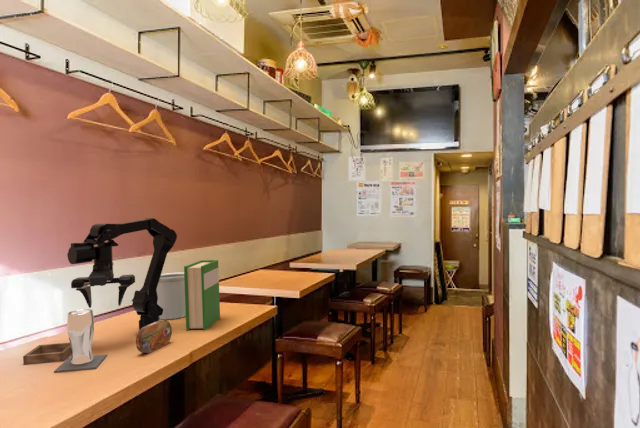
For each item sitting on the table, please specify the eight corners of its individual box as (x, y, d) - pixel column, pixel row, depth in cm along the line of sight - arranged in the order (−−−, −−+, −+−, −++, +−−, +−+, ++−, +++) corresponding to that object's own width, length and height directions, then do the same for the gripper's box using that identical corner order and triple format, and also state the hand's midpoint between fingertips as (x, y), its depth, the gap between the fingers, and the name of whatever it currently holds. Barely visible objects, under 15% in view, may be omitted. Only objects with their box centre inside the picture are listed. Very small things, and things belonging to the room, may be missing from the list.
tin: (142, 357, 133) (141, 329, 133) (134, 356, 134) (133, 329, 134) (173, 341, 147) (172, 317, 147) (165, 341, 148) (164, 316, 148)
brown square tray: (76, 349, 142) (76, 341, 142) (63, 360, 131) (63, 352, 131) (39, 352, 140) (39, 344, 140) (23, 364, 129) (23, 356, 129)
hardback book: (205, 330, 160) (203, 266, 159) (186, 330, 160) (184, 266, 160) (220, 318, 177) (218, 260, 177) (202, 318, 178) (200, 260, 178)
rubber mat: (107, 356, 135) (107, 354, 135) (96, 368, 124) (96, 367, 124) (68, 359, 132) (68, 357, 132) (54, 372, 122) (53, 371, 122)
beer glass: (92, 364, 126) (90, 313, 126) (65, 367, 124) (63, 315, 124) (97, 356, 133) (95, 308, 132) (72, 359, 131) (70, 310, 131)
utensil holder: (146, 318, 180) (144, 277, 179) (171, 310, 193) (170, 271, 193) (174, 321, 174) (172, 278, 174) (198, 312, 188) (196, 272, 187)
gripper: (63, 265, 136) (65, 314, 136) (126, 262, 139) (128, 309, 140) (76, 261, 147) (78, 306, 147) (134, 258, 150) (136, 302, 151)
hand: (105, 306), depth 146 cm, fingers open, 9 cm apart
